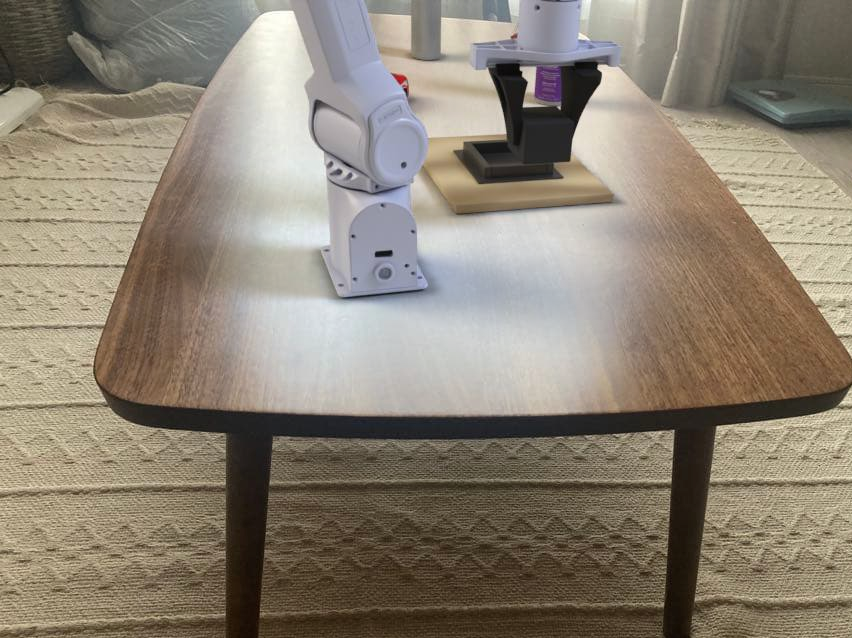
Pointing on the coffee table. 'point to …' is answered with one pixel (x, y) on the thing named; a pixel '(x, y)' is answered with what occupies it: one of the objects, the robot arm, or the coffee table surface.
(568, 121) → the black cube
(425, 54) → the grey upright cylinder
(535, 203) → the pad base
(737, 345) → the coffee table surface
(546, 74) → the container
